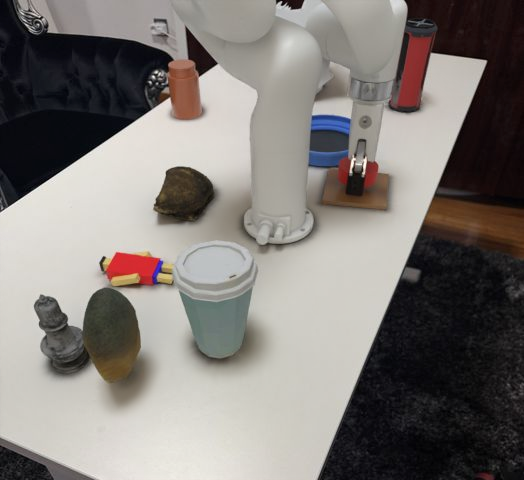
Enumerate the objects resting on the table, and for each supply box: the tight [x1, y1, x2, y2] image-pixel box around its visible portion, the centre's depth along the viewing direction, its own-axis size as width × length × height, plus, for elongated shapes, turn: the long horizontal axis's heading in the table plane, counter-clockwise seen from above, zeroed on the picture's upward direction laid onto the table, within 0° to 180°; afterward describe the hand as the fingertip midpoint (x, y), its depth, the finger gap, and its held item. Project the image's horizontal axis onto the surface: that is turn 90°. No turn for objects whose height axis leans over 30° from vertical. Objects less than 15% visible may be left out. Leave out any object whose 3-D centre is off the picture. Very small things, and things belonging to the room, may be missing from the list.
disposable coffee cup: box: [171, 239, 259, 359], centre depth 65 cm, size 11×11×15 cm
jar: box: [166, 58, 203, 120], centre depth 117 cm, size 7×7×11 cm
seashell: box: [152, 165, 215, 221], centre depth 92 cm, size 16×9×7 cm, turn 161°
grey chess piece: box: [33, 293, 91, 374], centre depth 64 cm, size 6×6×12 cm
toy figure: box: [98, 250, 174, 287], centre depth 80 cm, size 2×7×12 cm
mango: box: [82, 286, 142, 384], centre depth 61 cm, size 10×6×15 cm, turn 170°
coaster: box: [321, 168, 389, 211], centre depth 97 cm, size 12×12×1 cm
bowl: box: [308, 113, 351, 167], centre depth 107 cm, size 18×18×4 cm
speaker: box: [388, 17, 438, 113], centre depth 115 cm, size 8×8×18 cm
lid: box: [337, 156, 380, 187], centre depth 94 cm, size 8×8×2 cm
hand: (355, 182), depth 95 cm, fingers closed on lid, 7 cm apart
